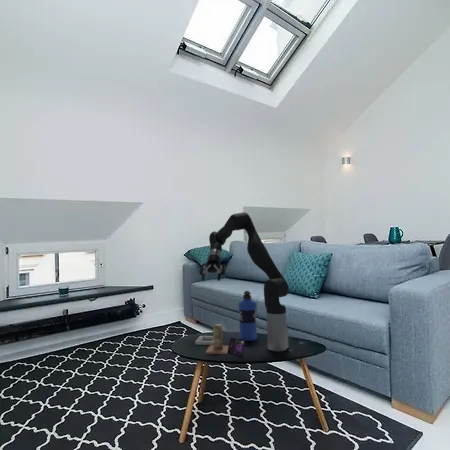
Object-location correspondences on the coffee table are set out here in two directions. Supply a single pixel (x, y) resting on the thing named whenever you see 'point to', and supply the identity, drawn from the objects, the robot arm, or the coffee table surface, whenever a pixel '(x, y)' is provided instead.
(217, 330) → the birch peg
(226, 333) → the coffee table surface
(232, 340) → the purple toy figure
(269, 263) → the robot arm
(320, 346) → the coffee table surface
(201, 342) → the pocket block
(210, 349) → the terracotta tile
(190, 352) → the coffee table surface
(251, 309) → the water bottle
